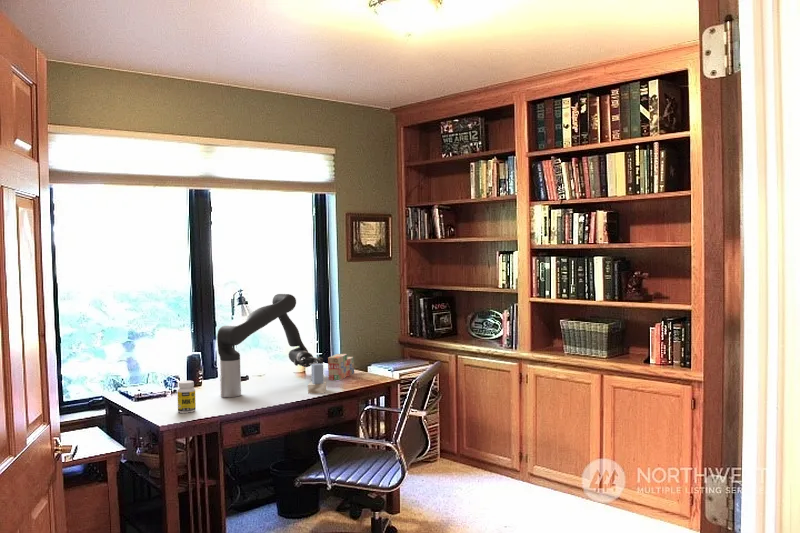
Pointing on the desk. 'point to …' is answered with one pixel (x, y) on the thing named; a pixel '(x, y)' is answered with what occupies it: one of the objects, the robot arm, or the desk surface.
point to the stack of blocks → (340, 366)
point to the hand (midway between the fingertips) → (311, 363)
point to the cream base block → (316, 388)
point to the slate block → (317, 373)
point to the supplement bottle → (186, 397)
